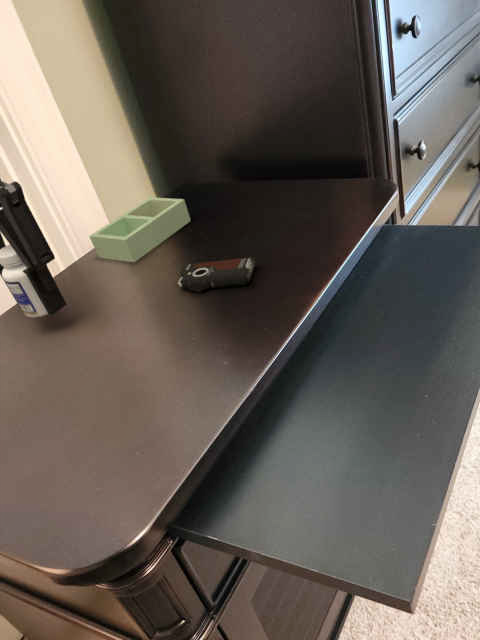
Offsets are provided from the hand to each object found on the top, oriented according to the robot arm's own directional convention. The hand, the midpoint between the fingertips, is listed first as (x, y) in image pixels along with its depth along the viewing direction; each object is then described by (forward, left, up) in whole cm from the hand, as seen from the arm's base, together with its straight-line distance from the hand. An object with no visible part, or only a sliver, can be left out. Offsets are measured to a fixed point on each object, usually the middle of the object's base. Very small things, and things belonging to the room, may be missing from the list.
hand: (43, 305), depth 73 cm
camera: (+17, +17, -4) cm, 25 cm away
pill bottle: (0, 0, 0) cm, 0 cm away
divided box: (-6, +27, -4) cm, 28 cm away
